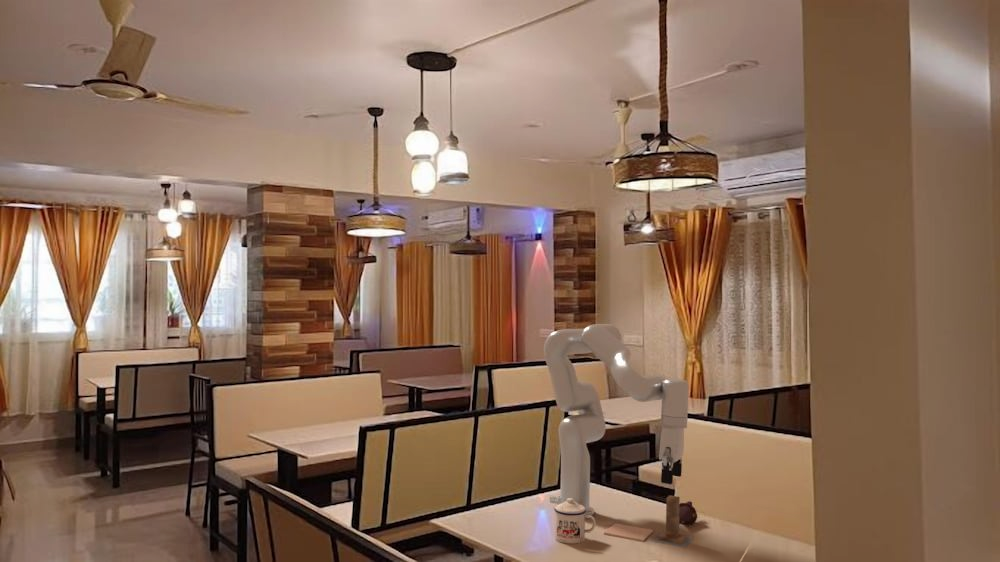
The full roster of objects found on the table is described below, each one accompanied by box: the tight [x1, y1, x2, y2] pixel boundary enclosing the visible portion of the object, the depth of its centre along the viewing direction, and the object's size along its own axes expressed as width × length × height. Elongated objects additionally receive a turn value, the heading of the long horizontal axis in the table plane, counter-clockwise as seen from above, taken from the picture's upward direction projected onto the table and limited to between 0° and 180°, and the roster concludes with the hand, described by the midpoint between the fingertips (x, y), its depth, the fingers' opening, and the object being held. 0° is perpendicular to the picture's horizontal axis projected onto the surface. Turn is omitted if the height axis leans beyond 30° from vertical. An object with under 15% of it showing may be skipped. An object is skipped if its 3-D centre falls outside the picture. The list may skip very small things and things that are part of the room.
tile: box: [603, 523, 654, 542], centre depth 214 cm, size 12×2×10 cm
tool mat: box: [651, 531, 694, 548], centre depth 209 cm, size 10×9×1 cm
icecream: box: [679, 500, 698, 526], centre depth 225 cm, size 7×7×15 cm
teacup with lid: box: [554, 498, 597, 545], centre depth 209 cm, size 12×9×12 cm
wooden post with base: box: [657, 495, 688, 544], centre depth 209 cm, size 7×5×12 cm
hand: (671, 479), depth 210 cm, fingers open, 9 cm apart
